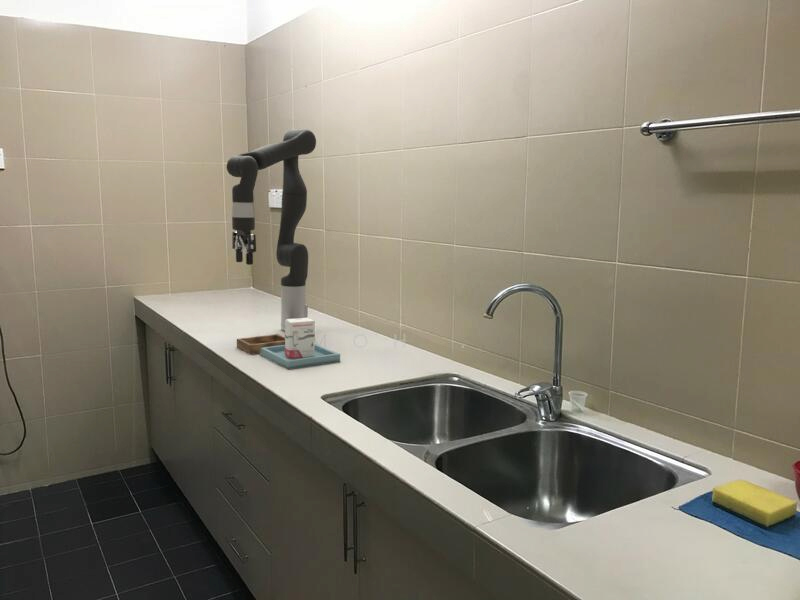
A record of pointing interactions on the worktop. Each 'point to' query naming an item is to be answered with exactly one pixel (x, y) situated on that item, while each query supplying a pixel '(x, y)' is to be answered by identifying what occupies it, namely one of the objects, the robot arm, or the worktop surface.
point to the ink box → (299, 338)
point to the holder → (259, 343)
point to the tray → (279, 357)
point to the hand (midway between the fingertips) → (244, 263)
